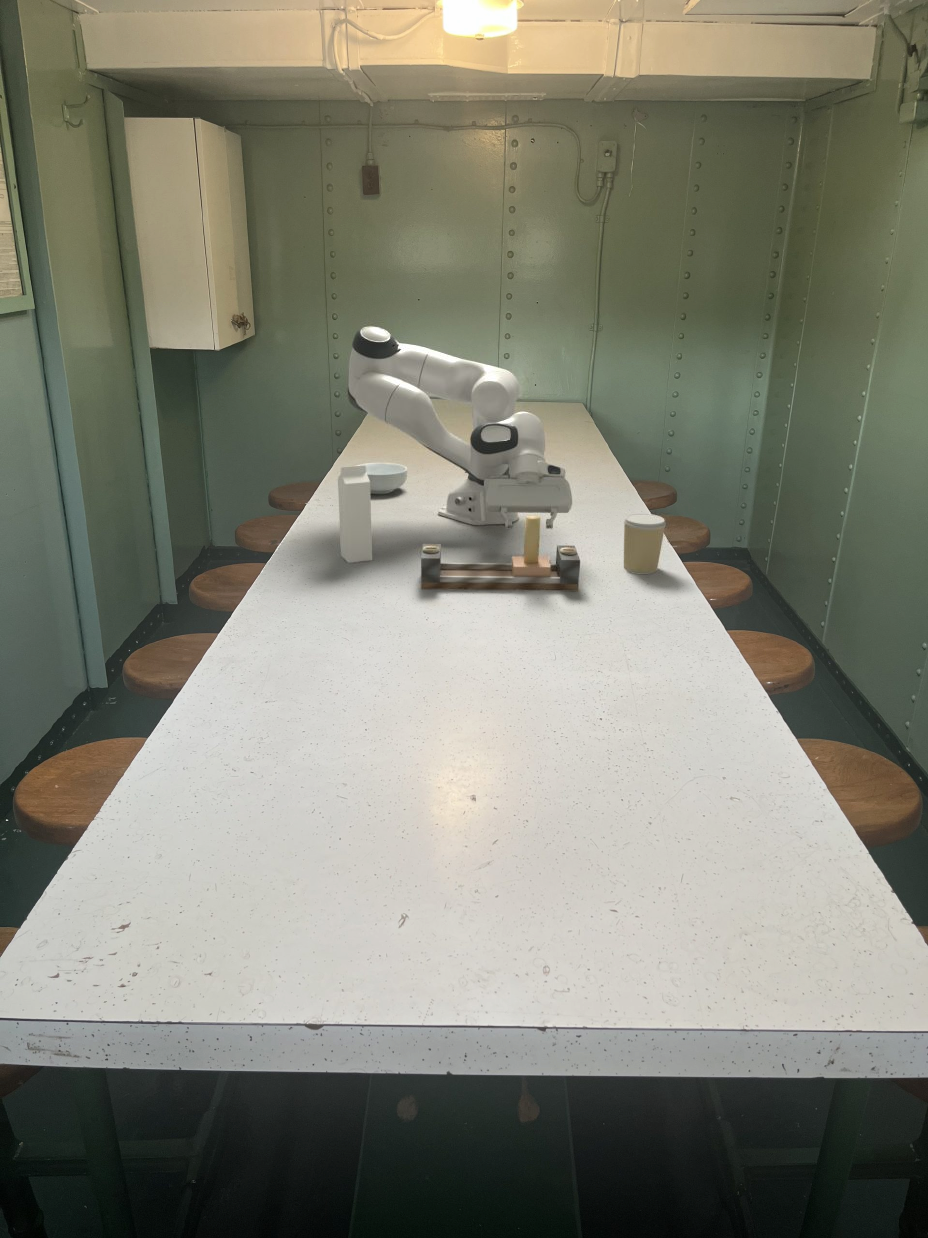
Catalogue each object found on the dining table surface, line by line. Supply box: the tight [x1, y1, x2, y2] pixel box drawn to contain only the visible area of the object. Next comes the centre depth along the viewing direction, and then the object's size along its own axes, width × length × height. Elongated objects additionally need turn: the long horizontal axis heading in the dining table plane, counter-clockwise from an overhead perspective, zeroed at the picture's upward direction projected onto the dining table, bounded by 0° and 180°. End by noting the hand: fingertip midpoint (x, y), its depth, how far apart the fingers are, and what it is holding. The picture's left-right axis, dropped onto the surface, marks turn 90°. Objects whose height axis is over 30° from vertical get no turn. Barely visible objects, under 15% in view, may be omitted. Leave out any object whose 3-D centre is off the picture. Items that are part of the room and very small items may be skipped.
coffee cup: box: [623, 513, 667, 575], centre depth 202 cm, size 9×9×12 cm
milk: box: [337, 465, 373, 564], centre depth 204 cm, size 6×6×22 cm
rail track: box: [420, 543, 581, 592], centre depth 193 cm, size 34×10×8 cm, turn 90°
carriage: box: [511, 515, 551, 577], centre depth 191 cm, size 8×7×13 cm
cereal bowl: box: [356, 462, 408, 495], centre depth 265 cm, size 17×17×7 cm
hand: (529, 527), depth 202 cm, fingers open, 8 cm apart
